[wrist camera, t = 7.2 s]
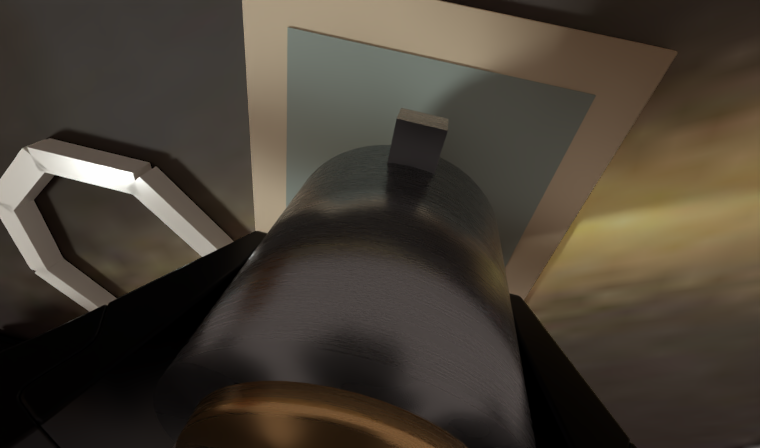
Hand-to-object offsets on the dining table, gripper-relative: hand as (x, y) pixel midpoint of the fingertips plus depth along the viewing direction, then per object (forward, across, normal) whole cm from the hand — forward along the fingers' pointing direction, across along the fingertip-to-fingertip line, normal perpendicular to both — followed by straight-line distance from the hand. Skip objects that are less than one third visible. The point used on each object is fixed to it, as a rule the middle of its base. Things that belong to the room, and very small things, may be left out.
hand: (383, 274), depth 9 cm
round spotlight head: (+1, 0, 0) cm, 1 cm away
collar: (+4, +12, +7) cm, 15 cm away
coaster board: (+4, 0, 0) cm, 5 cm away
